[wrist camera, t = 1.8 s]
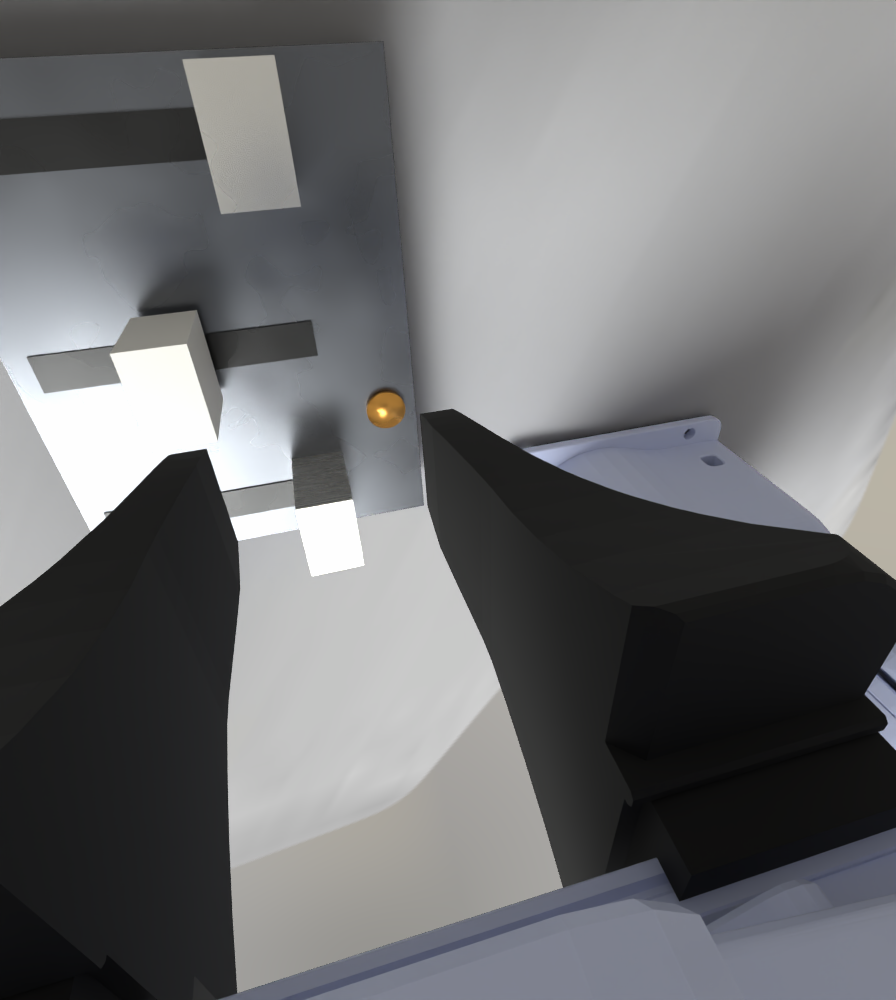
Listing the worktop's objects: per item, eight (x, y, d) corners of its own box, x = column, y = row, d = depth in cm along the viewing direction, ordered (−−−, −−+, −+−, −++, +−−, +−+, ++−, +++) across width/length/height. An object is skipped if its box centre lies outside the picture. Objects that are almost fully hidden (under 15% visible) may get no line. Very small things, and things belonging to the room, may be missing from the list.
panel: (370, 46, 15) (407, 31, 11) (412, 475, 22) (443, 555, 18) (-103, 67, 13) (-256, 59, 9) (120, 528, 20) (87, 628, 17)
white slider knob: (196, 309, 15) (186, 344, 13) (223, 398, 16) (217, 441, 14) (130, 318, 15) (110, 354, 13) (163, 407, 16) (149, 452, 14)
